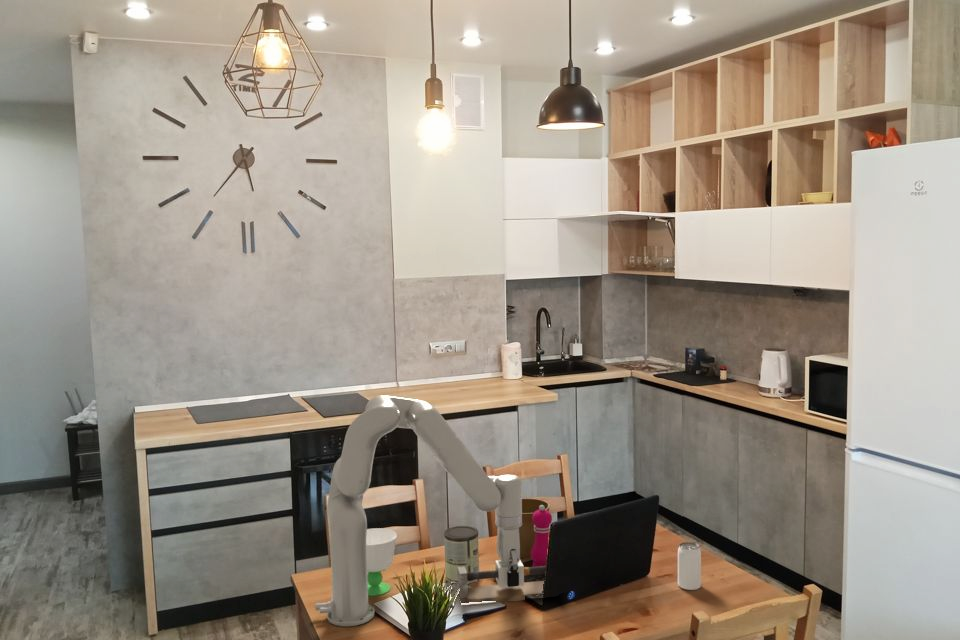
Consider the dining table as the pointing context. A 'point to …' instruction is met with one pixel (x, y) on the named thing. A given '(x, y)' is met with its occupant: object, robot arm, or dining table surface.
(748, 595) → the dining table surface
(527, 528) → the plant pot
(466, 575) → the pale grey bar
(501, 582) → the white cubic block
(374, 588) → the cup
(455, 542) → the coffee can
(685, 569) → the can
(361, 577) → the robot arm
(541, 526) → the pepper mill
